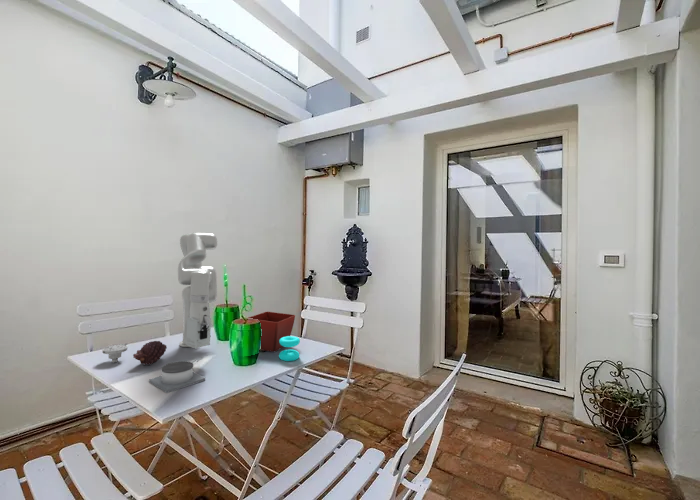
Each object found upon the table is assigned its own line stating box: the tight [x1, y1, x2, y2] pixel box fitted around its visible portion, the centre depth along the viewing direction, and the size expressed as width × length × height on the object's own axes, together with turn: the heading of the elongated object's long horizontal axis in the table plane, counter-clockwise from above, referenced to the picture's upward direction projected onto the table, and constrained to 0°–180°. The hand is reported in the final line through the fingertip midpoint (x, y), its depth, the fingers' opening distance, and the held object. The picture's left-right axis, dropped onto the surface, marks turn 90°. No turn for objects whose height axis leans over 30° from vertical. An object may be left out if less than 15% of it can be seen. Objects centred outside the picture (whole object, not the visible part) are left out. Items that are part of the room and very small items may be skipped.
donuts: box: [278, 335, 301, 362], centre depth 165 cm, size 10×10×10 cm
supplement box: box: [186, 317, 212, 350], centre depth 152 cm, size 7×7×13 cm
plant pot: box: [247, 311, 296, 353], centre depth 181 cm, size 19×19×17 cm
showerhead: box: [102, 342, 128, 363], centre depth 154 cm, size 9×7×10 cm
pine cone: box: [132, 340, 167, 366], centre depth 153 cm, size 18×10×10 cm, turn 169°
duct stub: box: [148, 360, 206, 394], centre depth 135 cm, size 15×15×6 cm
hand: (198, 336), depth 152 cm, fingers closed on supplement box, 7 cm apart
